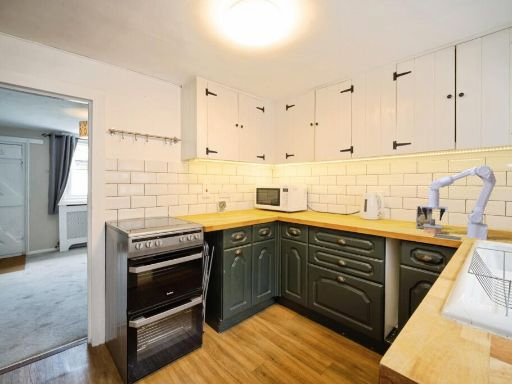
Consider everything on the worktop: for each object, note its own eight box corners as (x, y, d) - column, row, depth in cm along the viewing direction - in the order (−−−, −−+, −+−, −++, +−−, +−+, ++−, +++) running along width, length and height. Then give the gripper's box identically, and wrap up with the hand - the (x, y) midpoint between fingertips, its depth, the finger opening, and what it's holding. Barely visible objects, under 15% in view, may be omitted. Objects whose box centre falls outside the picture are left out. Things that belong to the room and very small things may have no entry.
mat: (461, 237, 151) (461, 237, 151) (460, 241, 142) (460, 240, 142) (435, 234, 160) (435, 234, 160) (432, 237, 151) (432, 236, 151)
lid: (442, 226, 165) (442, 219, 165) (441, 228, 158) (442, 220, 157) (424, 224, 172) (424, 217, 172) (422, 226, 164) (423, 219, 164)
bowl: (441, 233, 165) (441, 226, 165) (440, 235, 159) (440, 228, 158) (425, 231, 171) (425, 224, 171) (423, 233, 165) (423, 226, 164)
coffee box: (416, 228, 180) (417, 206, 180) (415, 227, 186) (416, 206, 185) (431, 230, 176) (432, 207, 175) (430, 228, 181) (431, 207, 181)
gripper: (419, 199, 166) (419, 219, 166) (447, 200, 156) (446, 221, 157) (421, 198, 171) (420, 218, 172) (448, 200, 162) (447, 220, 162)
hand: (433, 220), depth 165 cm, fingers open, 7 cm apart
